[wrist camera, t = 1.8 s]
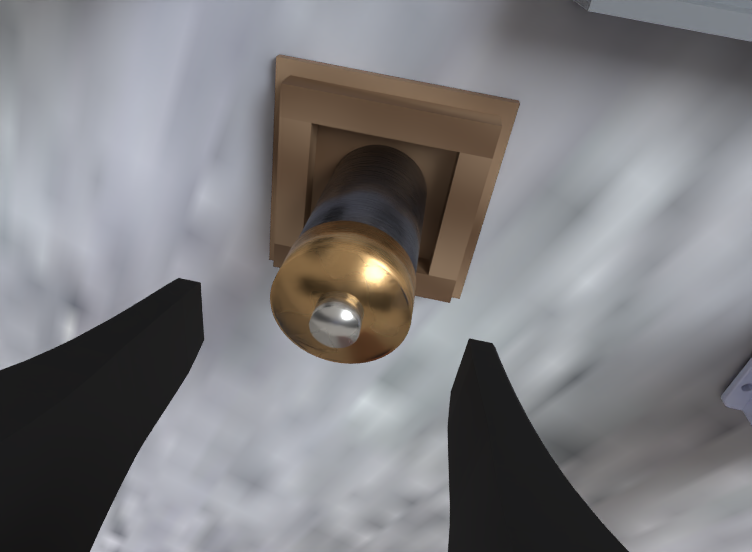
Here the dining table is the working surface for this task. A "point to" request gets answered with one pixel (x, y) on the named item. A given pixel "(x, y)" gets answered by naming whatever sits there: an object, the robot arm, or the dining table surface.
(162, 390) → the robot arm
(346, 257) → the battery cell
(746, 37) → the cell bin
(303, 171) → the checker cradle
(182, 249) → the dining table surface
